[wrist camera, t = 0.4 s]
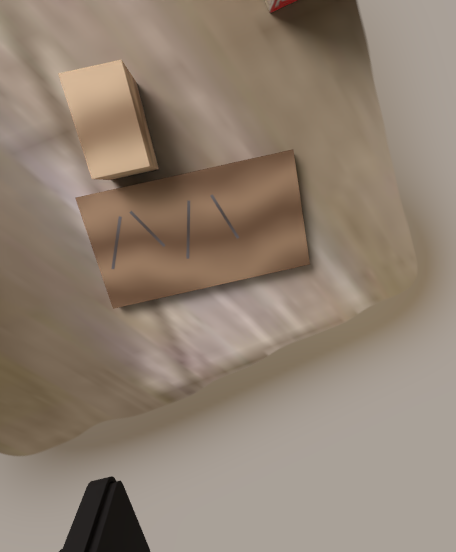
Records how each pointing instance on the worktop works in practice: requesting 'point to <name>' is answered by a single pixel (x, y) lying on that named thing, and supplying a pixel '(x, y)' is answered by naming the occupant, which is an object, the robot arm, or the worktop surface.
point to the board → (197, 229)
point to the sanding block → (109, 120)
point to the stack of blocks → (277, 4)
